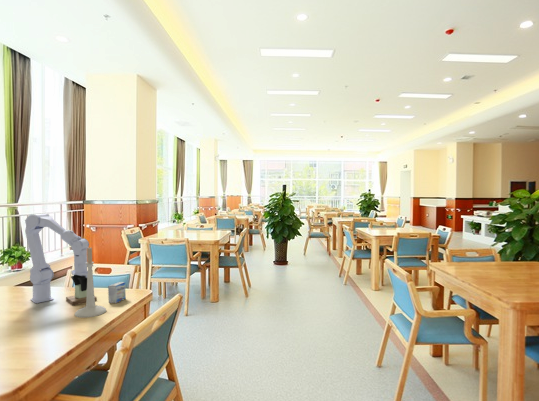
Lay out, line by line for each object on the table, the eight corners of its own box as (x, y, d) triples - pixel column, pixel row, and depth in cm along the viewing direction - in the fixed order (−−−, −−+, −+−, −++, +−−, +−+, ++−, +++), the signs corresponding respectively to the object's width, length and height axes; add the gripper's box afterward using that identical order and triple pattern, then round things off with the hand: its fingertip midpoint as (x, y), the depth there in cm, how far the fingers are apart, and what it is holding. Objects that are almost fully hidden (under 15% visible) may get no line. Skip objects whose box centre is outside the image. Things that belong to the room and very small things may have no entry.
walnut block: (66, 302, 179) (66, 297, 179) (89, 297, 186) (89, 292, 186) (72, 306, 171) (72, 301, 171) (96, 301, 179) (96, 297, 179)
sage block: (74, 297, 178) (75, 285, 178) (82, 295, 181) (82, 283, 181) (79, 298, 176) (79, 286, 176) (86, 296, 179) (87, 284, 179)
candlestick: (112, 309, 164) (111, 245, 164) (91, 318, 152) (89, 249, 152) (90, 307, 168) (89, 244, 168) (67, 316, 156) (66, 248, 155)
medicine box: (116, 303, 174) (116, 285, 173) (108, 302, 175) (107, 285, 174) (125, 298, 181) (125, 281, 181) (118, 298, 182) (117, 281, 182)
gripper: (65, 263, 179) (65, 289, 179) (80, 266, 171) (81, 294, 171) (79, 260, 185) (79, 286, 185) (94, 263, 177) (95, 290, 177)
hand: (81, 290), depth 179 cm, fingers open, 5 cm apart
